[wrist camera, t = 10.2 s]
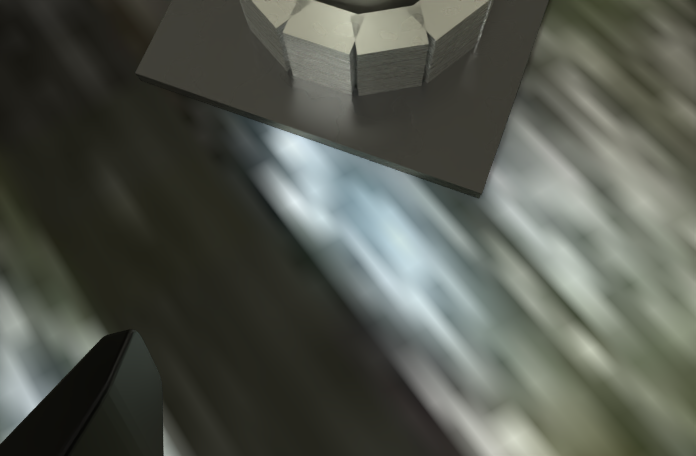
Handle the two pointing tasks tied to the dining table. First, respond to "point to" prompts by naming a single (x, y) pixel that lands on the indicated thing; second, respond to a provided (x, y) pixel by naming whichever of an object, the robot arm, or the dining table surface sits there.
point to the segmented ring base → (359, 75)
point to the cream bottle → (368, 5)
